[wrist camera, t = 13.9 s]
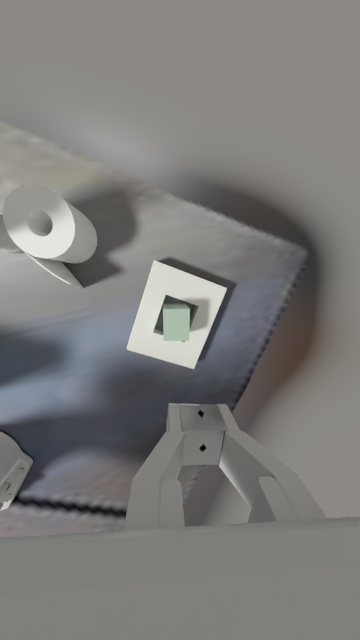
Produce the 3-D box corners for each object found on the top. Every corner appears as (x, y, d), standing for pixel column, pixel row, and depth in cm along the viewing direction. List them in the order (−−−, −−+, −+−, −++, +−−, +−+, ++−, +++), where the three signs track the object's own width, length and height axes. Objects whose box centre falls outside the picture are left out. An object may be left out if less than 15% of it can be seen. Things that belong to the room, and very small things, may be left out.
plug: (185, 329, 32) (189, 340, 26) (164, 329, 32) (163, 341, 26) (185, 303, 31) (189, 309, 25) (163, 303, 30) (162, 309, 25)
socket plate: (191, 362, 34) (193, 369, 31) (129, 344, 32) (126, 349, 30) (222, 287, 31) (227, 288, 28) (155, 261, 29) (153, 260, 26)
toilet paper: (82, 288, 29) (57, 291, 22) (32, 229, 26) (-13, 212, 20) (120, 260, 28) (105, 254, 22) (72, 197, 26) (39, 168, 19)
